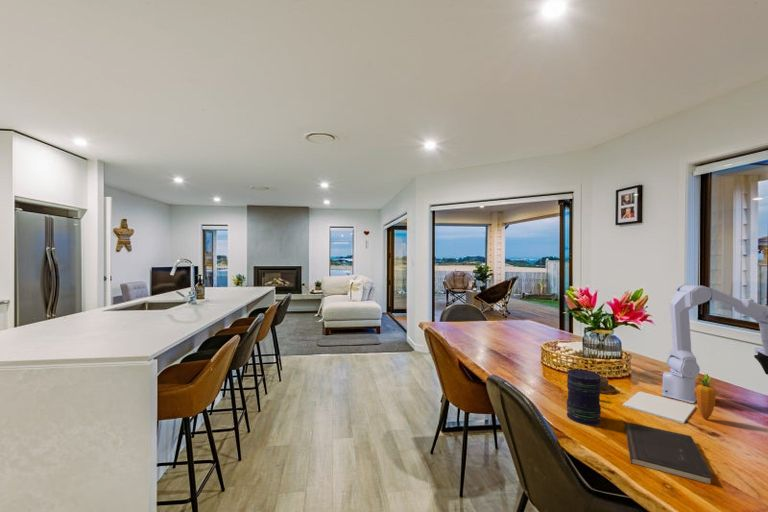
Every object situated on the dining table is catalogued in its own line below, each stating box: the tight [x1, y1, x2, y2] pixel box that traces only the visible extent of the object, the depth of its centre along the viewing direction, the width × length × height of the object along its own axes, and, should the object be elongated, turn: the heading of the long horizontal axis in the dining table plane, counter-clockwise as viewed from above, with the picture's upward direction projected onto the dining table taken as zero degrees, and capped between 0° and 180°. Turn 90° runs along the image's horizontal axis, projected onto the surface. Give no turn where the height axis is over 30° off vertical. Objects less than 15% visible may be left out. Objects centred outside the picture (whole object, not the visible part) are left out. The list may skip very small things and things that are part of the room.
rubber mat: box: [622, 391, 697, 425], centre depth 126 cm, size 17×20×1 cm
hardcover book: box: [624, 422, 714, 485], centre depth 96 cm, size 16×23×2 cm
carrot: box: [695, 373, 717, 421], centre depth 116 cm, size 5×5×15 cm
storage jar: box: [566, 362, 602, 426], centre depth 116 cm, size 10×10×18 cm
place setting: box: [600, 375, 617, 400], centre depth 141 cm, size 18×20×6 cm
